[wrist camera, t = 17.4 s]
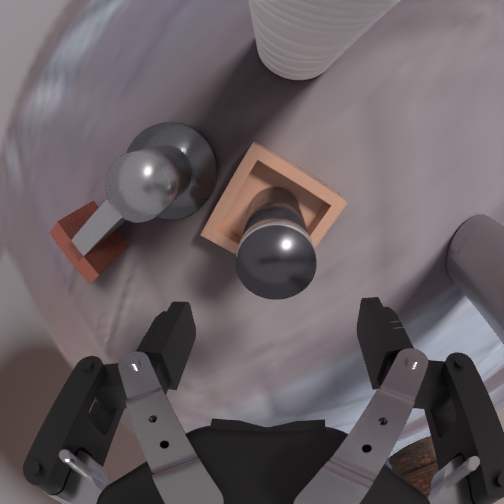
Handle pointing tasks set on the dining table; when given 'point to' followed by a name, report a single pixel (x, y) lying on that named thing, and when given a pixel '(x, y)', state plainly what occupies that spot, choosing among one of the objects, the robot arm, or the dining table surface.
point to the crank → (122, 206)
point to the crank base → (199, 159)
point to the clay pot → (417, 464)
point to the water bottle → (310, 32)
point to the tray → (264, 176)
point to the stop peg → (275, 247)
